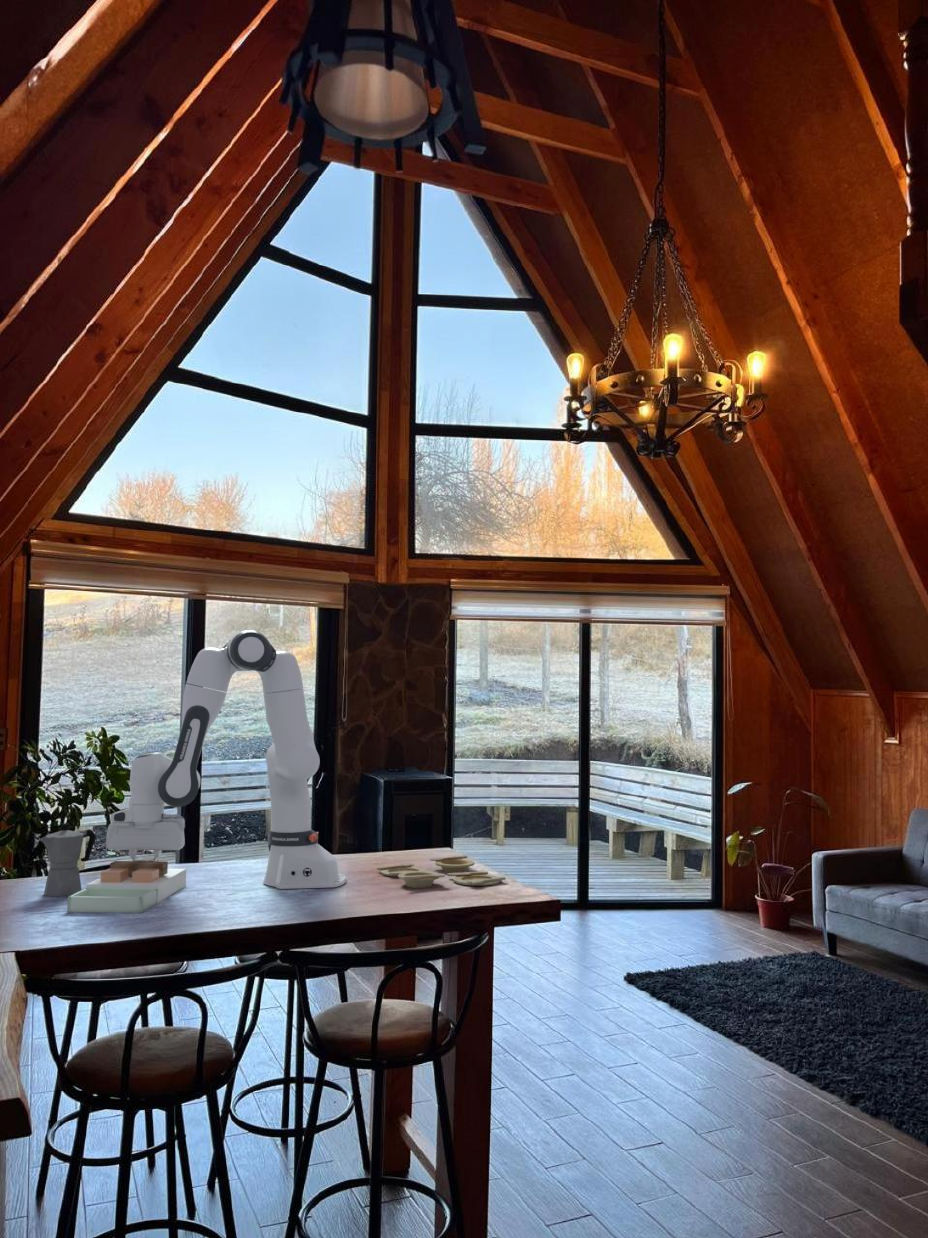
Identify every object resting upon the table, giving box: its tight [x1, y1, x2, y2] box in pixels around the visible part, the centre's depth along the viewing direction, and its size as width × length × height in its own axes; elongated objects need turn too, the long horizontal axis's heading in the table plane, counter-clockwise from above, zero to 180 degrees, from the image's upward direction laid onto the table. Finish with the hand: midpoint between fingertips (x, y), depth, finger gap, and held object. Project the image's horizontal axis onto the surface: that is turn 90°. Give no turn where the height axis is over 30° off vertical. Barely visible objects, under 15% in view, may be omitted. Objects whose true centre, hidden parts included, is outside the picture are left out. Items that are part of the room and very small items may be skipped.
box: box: [66, 887, 158, 914], centre depth 225 cm, size 18×10×4 cm, turn 88°
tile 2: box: [100, 867, 128, 882], centre depth 235 cm, size 5×5×2 cm
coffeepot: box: [39, 822, 97, 898], centre depth 242 cm, size 15×9×18 cm, turn 144°
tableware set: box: [376, 855, 507, 889], centre depth 263 cm, size 35×29×4 cm
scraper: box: [109, 855, 169, 876], centre depth 245 cm, size 14×11×3 cm
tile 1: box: [132, 869, 159, 883], centre depth 235 cm, size 5×5×2 cm
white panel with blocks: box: [85, 868, 187, 904], centre depth 241 cm, size 18×21×4 cm
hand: (144, 867), depth 245 cm, fingers closed on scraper, 3 cm apart
